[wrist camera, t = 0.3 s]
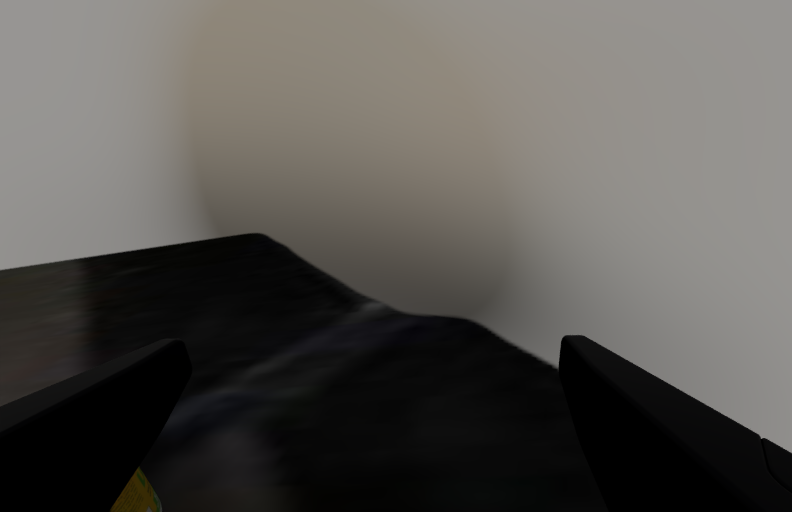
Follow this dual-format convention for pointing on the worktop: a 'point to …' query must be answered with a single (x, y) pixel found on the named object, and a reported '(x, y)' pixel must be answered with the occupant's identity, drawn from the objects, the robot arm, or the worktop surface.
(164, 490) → the worktop surface
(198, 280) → the worktop surface
